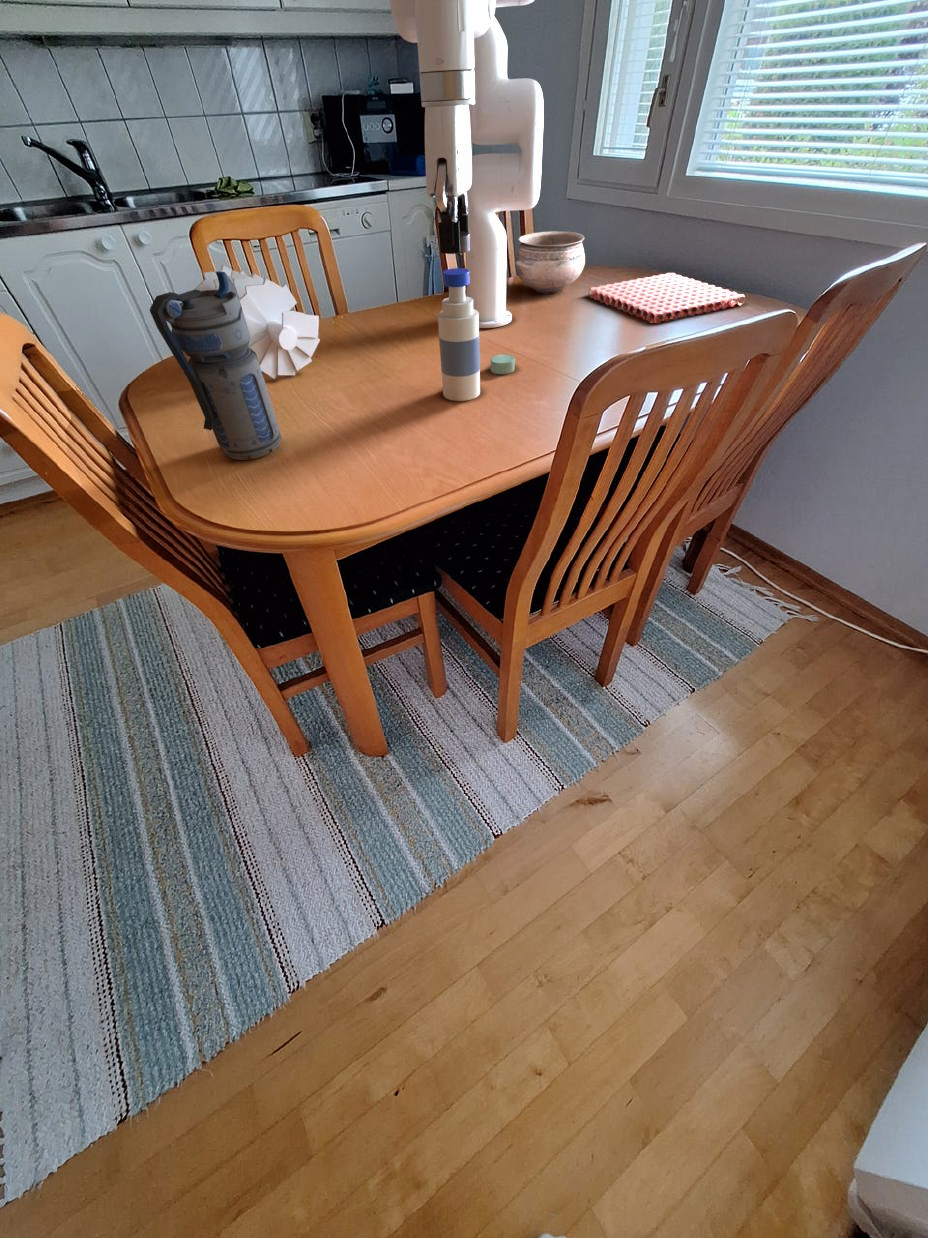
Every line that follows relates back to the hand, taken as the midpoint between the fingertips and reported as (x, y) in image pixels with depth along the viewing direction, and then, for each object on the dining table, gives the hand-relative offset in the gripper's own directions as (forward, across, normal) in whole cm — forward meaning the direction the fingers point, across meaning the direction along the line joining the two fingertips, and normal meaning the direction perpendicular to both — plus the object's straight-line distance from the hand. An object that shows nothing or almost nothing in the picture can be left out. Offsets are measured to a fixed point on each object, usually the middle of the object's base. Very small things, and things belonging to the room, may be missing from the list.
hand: (454, 247), depth 86 cm
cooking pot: (+24, -72, +7) cm, 76 cm away
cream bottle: (+24, 0, 0) cm, 24 cm away
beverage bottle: (+24, +28, -30) cm, 48 cm away
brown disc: (0, 0, 0) cm, 0 cm away
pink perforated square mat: (+24, -65, +38) cm, 79 cm away
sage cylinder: (+24, -13, +6) cm, 28 cm away
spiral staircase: (+24, -8, -47) cm, 53 cm away
